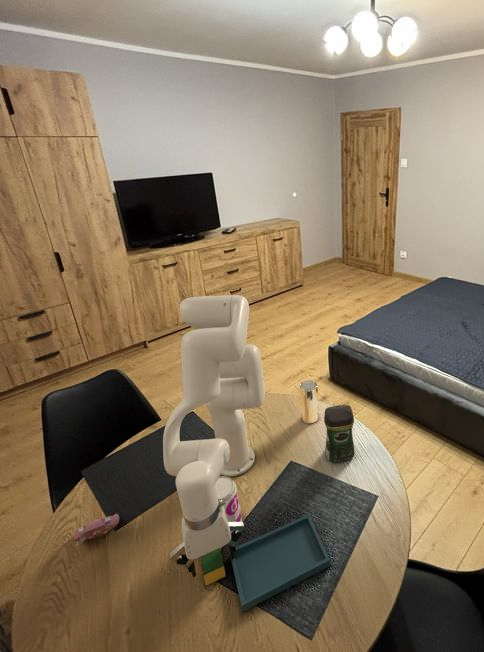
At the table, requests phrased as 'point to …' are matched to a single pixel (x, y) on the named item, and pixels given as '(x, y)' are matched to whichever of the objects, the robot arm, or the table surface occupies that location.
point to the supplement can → (229, 498)
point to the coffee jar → (339, 433)
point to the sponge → (212, 566)
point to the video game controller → (96, 528)
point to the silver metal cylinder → (309, 400)
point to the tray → (277, 561)
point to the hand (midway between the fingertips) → (213, 561)
